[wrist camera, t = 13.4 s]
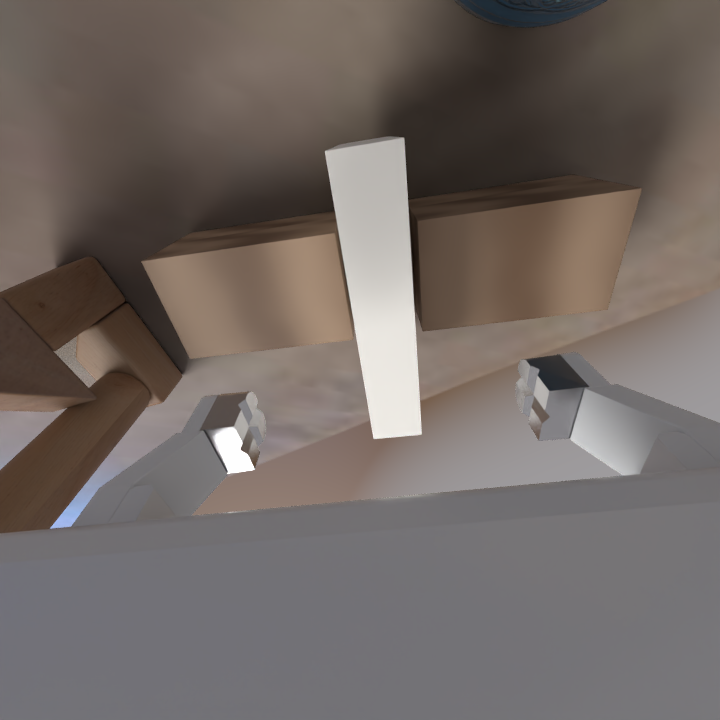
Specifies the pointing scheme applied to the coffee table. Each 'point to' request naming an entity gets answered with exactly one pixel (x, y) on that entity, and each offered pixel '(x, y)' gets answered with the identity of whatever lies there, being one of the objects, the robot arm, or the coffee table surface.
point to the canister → (527, 11)
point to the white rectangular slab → (379, 276)
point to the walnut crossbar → (429, 266)
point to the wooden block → (71, 384)
